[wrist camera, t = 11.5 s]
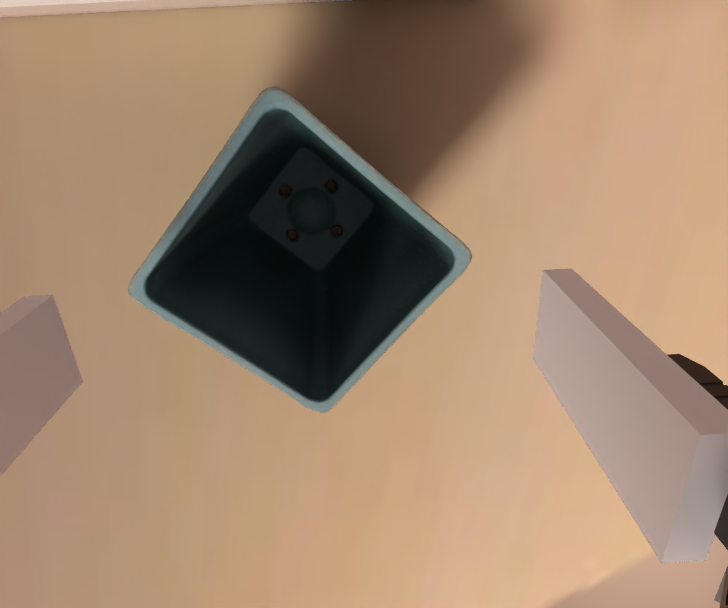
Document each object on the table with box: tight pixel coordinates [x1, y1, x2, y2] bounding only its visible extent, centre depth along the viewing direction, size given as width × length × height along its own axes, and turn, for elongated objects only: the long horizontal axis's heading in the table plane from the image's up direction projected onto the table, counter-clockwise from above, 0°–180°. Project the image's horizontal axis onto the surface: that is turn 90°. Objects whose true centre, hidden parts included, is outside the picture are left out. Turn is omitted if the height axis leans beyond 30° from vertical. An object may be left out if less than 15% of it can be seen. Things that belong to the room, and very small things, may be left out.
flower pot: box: [128, 87, 472, 413], centre depth 21 cm, size 9×9×9 cm
